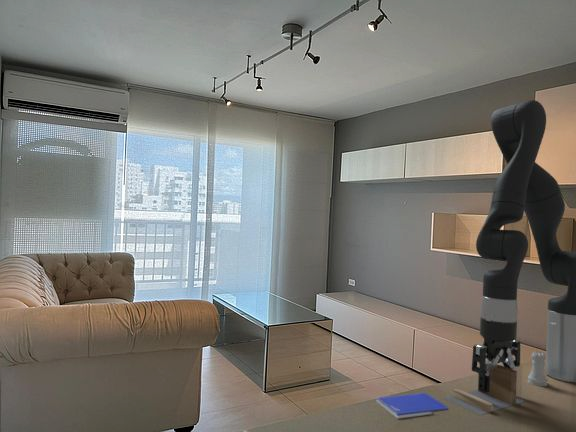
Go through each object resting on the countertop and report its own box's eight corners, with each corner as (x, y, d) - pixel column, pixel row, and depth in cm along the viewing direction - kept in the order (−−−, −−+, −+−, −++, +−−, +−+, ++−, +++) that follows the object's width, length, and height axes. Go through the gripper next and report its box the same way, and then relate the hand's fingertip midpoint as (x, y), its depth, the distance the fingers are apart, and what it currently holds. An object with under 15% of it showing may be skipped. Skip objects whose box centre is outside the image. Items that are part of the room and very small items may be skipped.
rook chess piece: (551, 386, 109) (552, 354, 109) (542, 389, 106) (543, 356, 106) (532, 380, 112) (533, 349, 112) (523, 383, 110) (524, 351, 110)
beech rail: (456, 395, 99) (457, 388, 99) (492, 411, 91) (493, 404, 91) (452, 396, 98) (452, 389, 98) (488, 412, 91) (488, 405, 91)
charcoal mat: (489, 388, 105) (489, 386, 105) (525, 403, 97) (525, 401, 97) (444, 400, 97) (444, 398, 97) (479, 417, 89) (479, 415, 89)
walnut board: (483, 389, 103) (484, 360, 103) (515, 402, 96) (516, 370, 96) (478, 390, 102) (479, 361, 102) (510, 404, 95) (511, 372, 95)
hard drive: (397, 413, 87) (448, 407, 92) (376, 397, 95) (424, 391, 99) (397, 421, 87) (448, 414, 92) (376, 404, 95) (423, 398, 99)
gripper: (502, 311, 106) (499, 378, 106) (463, 315, 99) (460, 387, 99) (533, 318, 100) (530, 389, 100) (493, 323, 93) (490, 400, 92)
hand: (495, 388), depth 99 cm, fingers open, 8 cm apart
